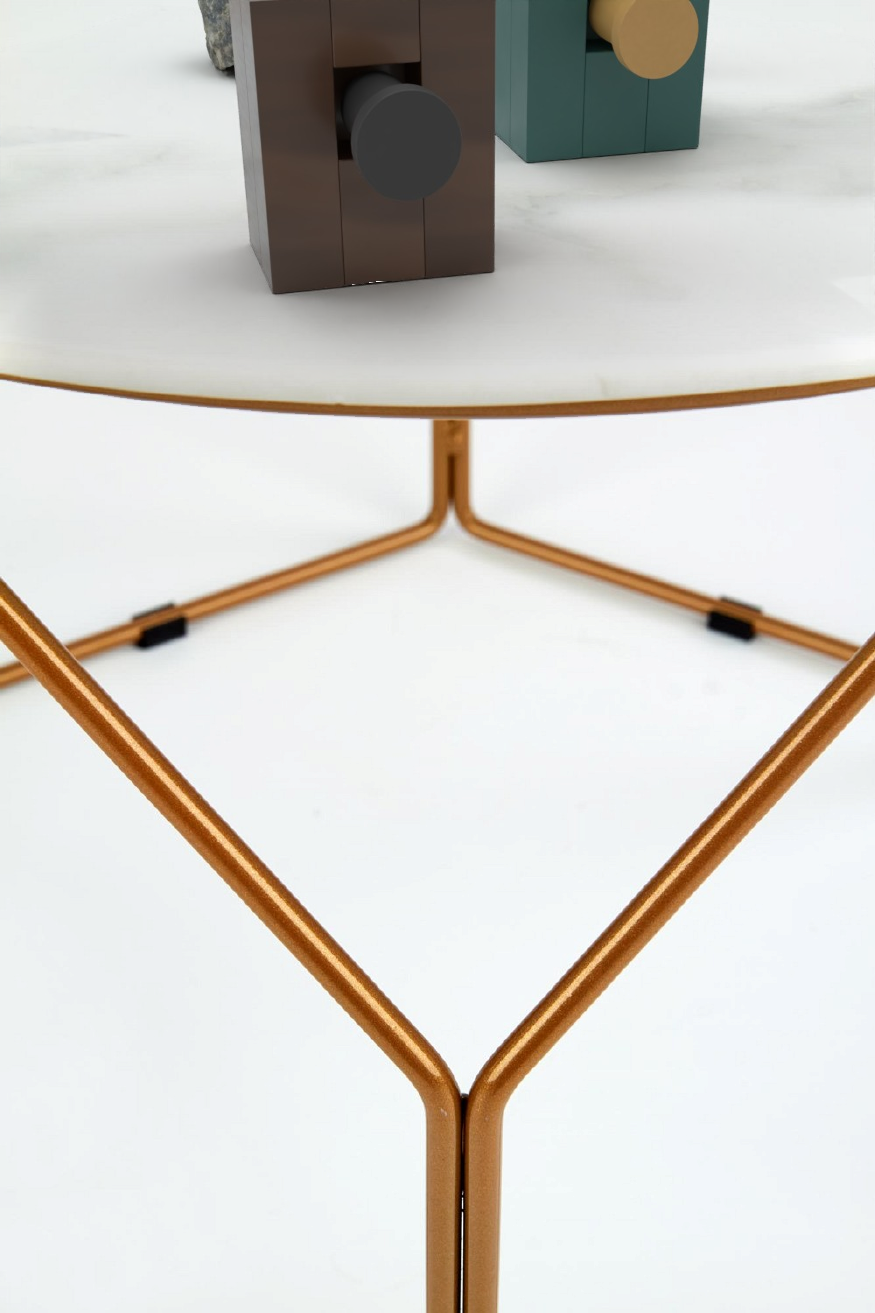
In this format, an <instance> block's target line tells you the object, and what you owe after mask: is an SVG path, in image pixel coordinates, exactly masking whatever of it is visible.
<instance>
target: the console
mask: <svg viewBox="0 0 875 1313" xmlns="http://www.w3.org/2000/svg"><path fill="white" fill-rule="evenodd" d="M689 1H690V3H691V4H692V6H693V7H694V9H695V12H696V15H697V19H698V38H697V42H696V45H695V48H694V50H693V52H692V54H691V56H690V57H689V59H688V60H687V61H686V63H685V64H684V65H683V66H682V67H681V68H680V69H678V70H677V71H676V72H674V73H673V74H671V75H669V76H666V77H663V78H659V79H648V78H643V77H640V76H638V75H636V74H635V73H633V72H631V71H630V70H628V69H627V68H625V67H624V66H623V65H622V64H621V62H620V61H619V60H618V58H617V56H616V54H615V52H614V49H613V45H612V44H611V43H610V42H608V41H606V40H605V39H603V38H601V37H600V36H598V35H597V34H596V33H595V32H594V30H593V29H592V27H591V25H590V22H589V14H588V12H589V5H590V2H591V0H496V34H495V136H497V137H498V138H499V139H500V140H501V141H502V142H504V143H505V144H506V145H507V146H508V147H509V148H510V149H511V150H512V151H513V152H515V154H517V156H519V157H520V158H521V159H522V161H524V162H525V163H537V162H547V161H548V162H549V161H560V160H572V159H581V158H594V157H604V156H606V157H607V156H616V155H617V156H618V155H629V154H640V153H651V152H652V153H653V152H665V151H674V150H686V149H697V148H699V145H700V144H699V143H700V142H699V141H700V132H701V131H700V130H701V118H702V105H703V104H702V103H703V93H704V92H703V91H704V77H705V67H706V55H707V54H706V52H707V40H708V37H707V36H708V28H709V27H708V26H709V14H710V3H711V2H710V0H689Z"/></svg>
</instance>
